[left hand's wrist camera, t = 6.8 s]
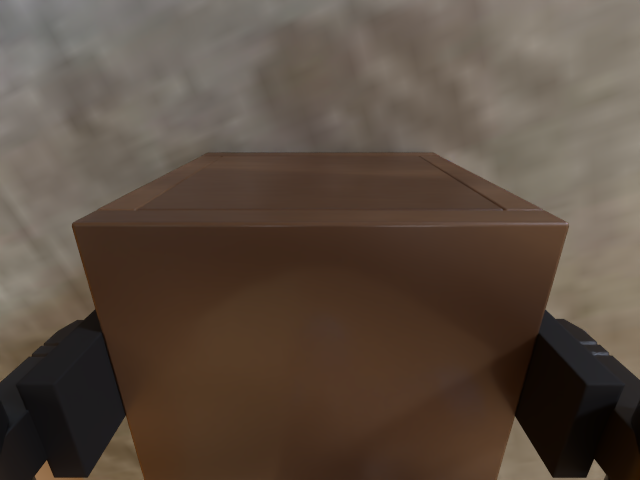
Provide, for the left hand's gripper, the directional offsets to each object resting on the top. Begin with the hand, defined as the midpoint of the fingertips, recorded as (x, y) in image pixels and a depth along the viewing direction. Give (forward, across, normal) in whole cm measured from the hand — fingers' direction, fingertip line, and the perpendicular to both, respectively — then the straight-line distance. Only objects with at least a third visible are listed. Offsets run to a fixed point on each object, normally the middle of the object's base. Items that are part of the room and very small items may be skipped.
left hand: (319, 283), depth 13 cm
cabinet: (+5, 0, -4) cm, 6 cm away
